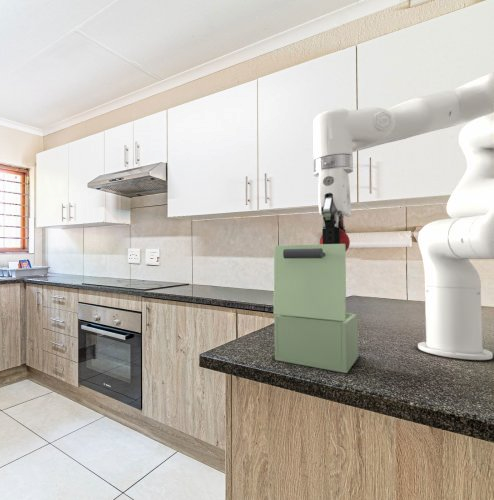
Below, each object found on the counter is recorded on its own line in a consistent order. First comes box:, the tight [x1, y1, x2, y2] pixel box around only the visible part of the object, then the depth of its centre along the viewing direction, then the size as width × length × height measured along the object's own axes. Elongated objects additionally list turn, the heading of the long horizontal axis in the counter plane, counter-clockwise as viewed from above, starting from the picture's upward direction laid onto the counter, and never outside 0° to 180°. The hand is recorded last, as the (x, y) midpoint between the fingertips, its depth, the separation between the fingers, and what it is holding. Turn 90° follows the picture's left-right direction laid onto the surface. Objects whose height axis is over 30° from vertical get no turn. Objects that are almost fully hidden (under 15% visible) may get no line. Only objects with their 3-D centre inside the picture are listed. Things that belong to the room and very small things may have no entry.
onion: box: [318, 229, 351, 252], centre depth 78 cm, size 6×6×8 cm
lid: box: [273, 243, 347, 321], centre depth 72 cm, size 15×14×5 cm
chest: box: [273, 312, 359, 374], centre depth 78 cm, size 15×14×10 cm
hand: (334, 246), depth 78 cm, fingers closed on onion, 5 cm apart
